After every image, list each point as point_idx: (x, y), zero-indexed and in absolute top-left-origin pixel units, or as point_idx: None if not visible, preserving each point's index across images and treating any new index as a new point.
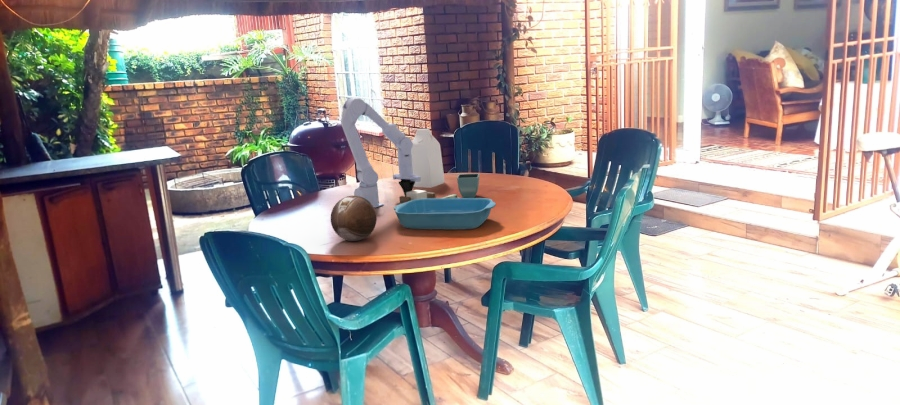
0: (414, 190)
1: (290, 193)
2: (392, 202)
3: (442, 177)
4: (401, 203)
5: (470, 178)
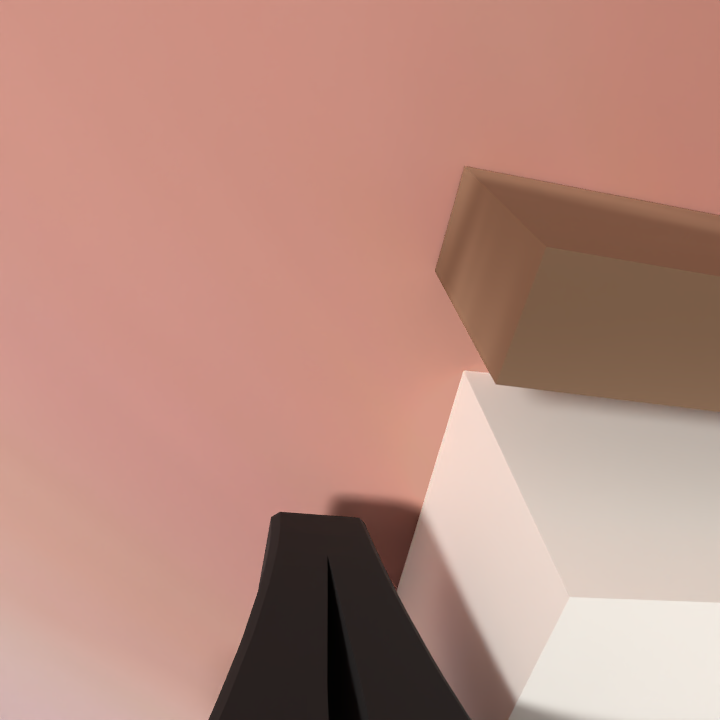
0: (569, 688)
1: None
2: (66, 678)
3: None
4: None
5: None
